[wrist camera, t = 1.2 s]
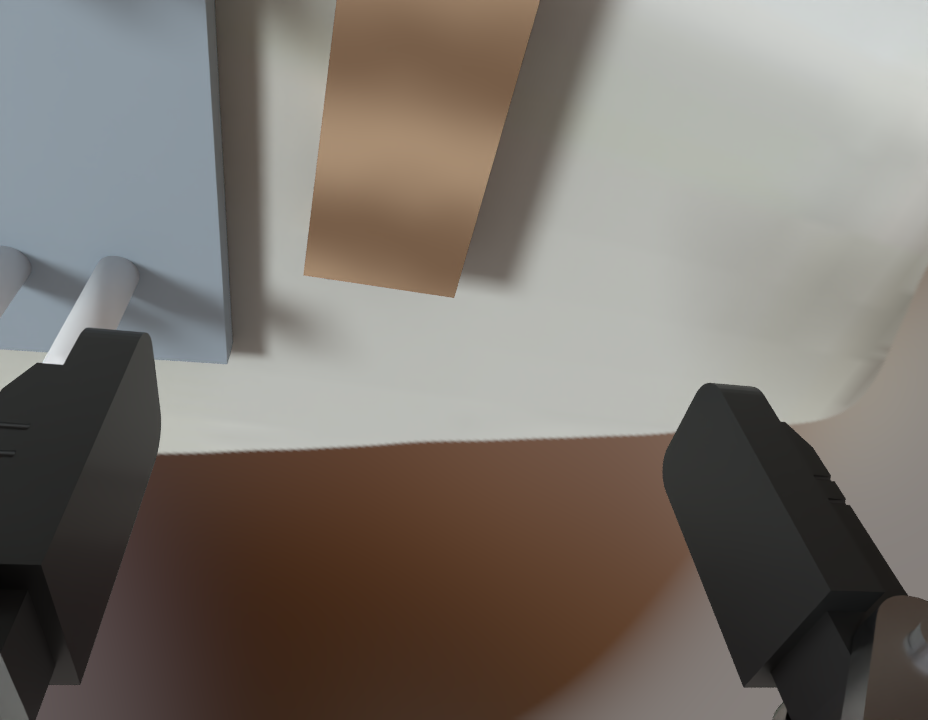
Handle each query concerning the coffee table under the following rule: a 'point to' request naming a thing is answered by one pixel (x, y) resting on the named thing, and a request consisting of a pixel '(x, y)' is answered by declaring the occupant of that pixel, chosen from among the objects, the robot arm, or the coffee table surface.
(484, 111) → the shelf board
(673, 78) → the coffee table surface
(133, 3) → the peg stand
